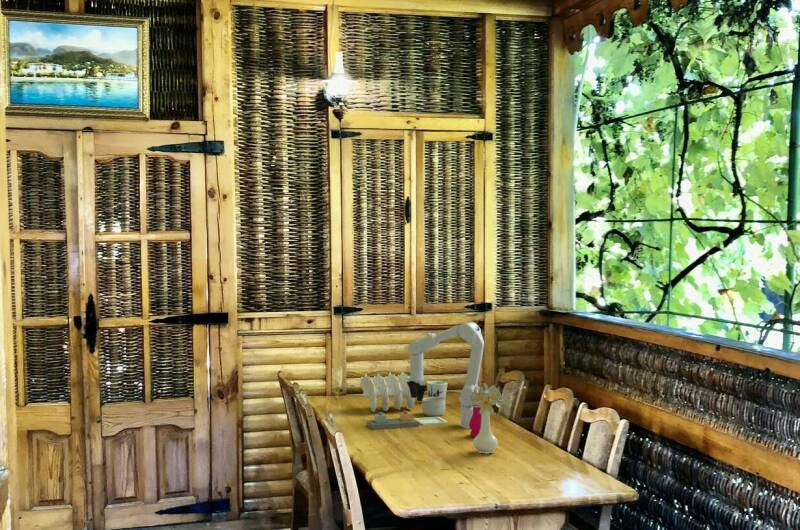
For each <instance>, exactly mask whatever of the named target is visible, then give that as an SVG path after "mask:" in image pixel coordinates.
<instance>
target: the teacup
mask: <svg viewBox="0 0 800 530" xmlns="http://www.w3.org/2000/svg"><path fill="white" fill-rule="evenodd" d="M421 406H422V408H421V409H422V412H423V414H424V415H426V416H427V417H440V416H441V417H442V415H443V414H444V413H446V397H445V398H444V397H428V396H427V397H423V400H422V401H421Z"/></svg>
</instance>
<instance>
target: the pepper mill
mask: <svg viewBox="0 0 800 530" xmlns="http://www.w3.org/2000/svg"><path fill="white" fill-rule="evenodd" d="M476 388H477V387H476ZM479 389H480V386H479V387H478V390H479ZM478 392H479V391H478ZM478 394H479V393H478ZM471 399H472V398H471ZM472 401H473V400H472ZM472 406H473V415H472V417H471V420H470V422H469V427H470V432H469V433H470V435H469V436H470V437H471V438H475V437H476V436H477V435H478V434H479V432H480V429H481V418H482V414H480V408H481V406H478V405H476V404H475V405H472Z"/></svg>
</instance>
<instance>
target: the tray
mask: <svg viewBox="0 0 800 530" xmlns="http://www.w3.org/2000/svg"><path fill="white" fill-rule="evenodd" d="M413 419H415V420H417V421H418V422H419V425H420V426H423V427H424V426H436V425H437V426H439V425H448V424H449V421H447V420H445V419H443V418H441V417H440V416H427V417H417V418H416V417H415V418H413Z"/></svg>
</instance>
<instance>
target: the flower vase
mask: <svg viewBox="0 0 800 530" xmlns="http://www.w3.org/2000/svg"><path fill="white" fill-rule="evenodd" d="M478 386H479V385H478ZM478 386H477V388H476V386H475V387H474V392H471V395H470V397H469V398H472V399H471V400H470V401H469V402H471V401H472V400H473V401H472V403H471V405H475V404H476V405H478V406H481V408H480V414H482V418H481V429H480V432H479V434H478V435H477V436H476V437H473V441H472V445H473V447H474V448H475V450H476V452H477V453H478V454H481V453H483V455H490V454H489V453H491V454H493V453H494V452H495V450H496V448H498V446H499V441H498V439H497V437H496V436H495V435H494V434H493V432H492V429H491V423H490V414H494V413H495V410H494V408H493V407H492V406H494V405H495V406H496V407H497V408H498V409H499V408H501V406H504V405H503V402H502V401H504V400H505V398H504V396H502V394H501V392H500V387H496V386H495V384H493V385H490V387H489V386H488V384H487V383H485V382H483V387H482V386H481V387H480V386H479V387H480V389H479V390H478ZM478 391H479V392H478ZM478 393H479V394H478ZM484 453H485V454H484Z"/></svg>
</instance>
